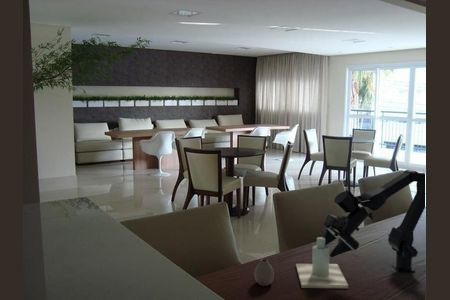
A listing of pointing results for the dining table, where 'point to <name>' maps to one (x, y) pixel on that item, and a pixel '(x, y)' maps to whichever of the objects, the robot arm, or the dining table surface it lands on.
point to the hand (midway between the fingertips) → (325, 251)
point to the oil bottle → (320, 258)
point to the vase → (264, 273)
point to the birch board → (313, 281)
